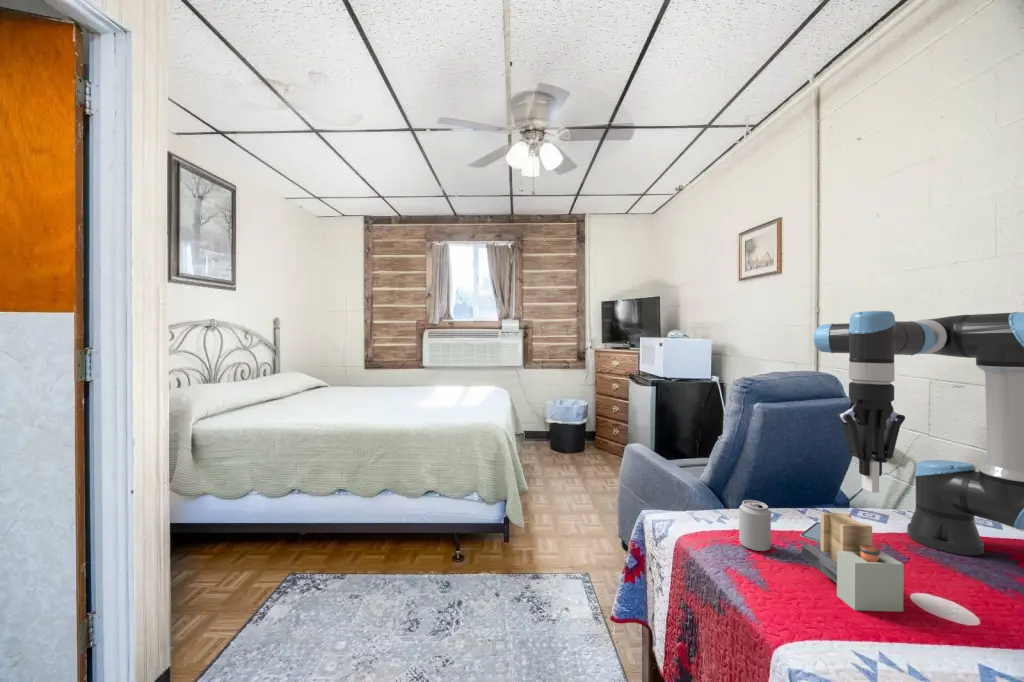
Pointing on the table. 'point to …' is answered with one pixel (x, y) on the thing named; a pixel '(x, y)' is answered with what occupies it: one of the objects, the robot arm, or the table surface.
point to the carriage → (840, 539)
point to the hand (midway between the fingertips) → (870, 490)
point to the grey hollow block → (870, 582)
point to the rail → (812, 556)
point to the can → (755, 525)
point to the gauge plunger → (869, 553)
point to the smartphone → (813, 532)
